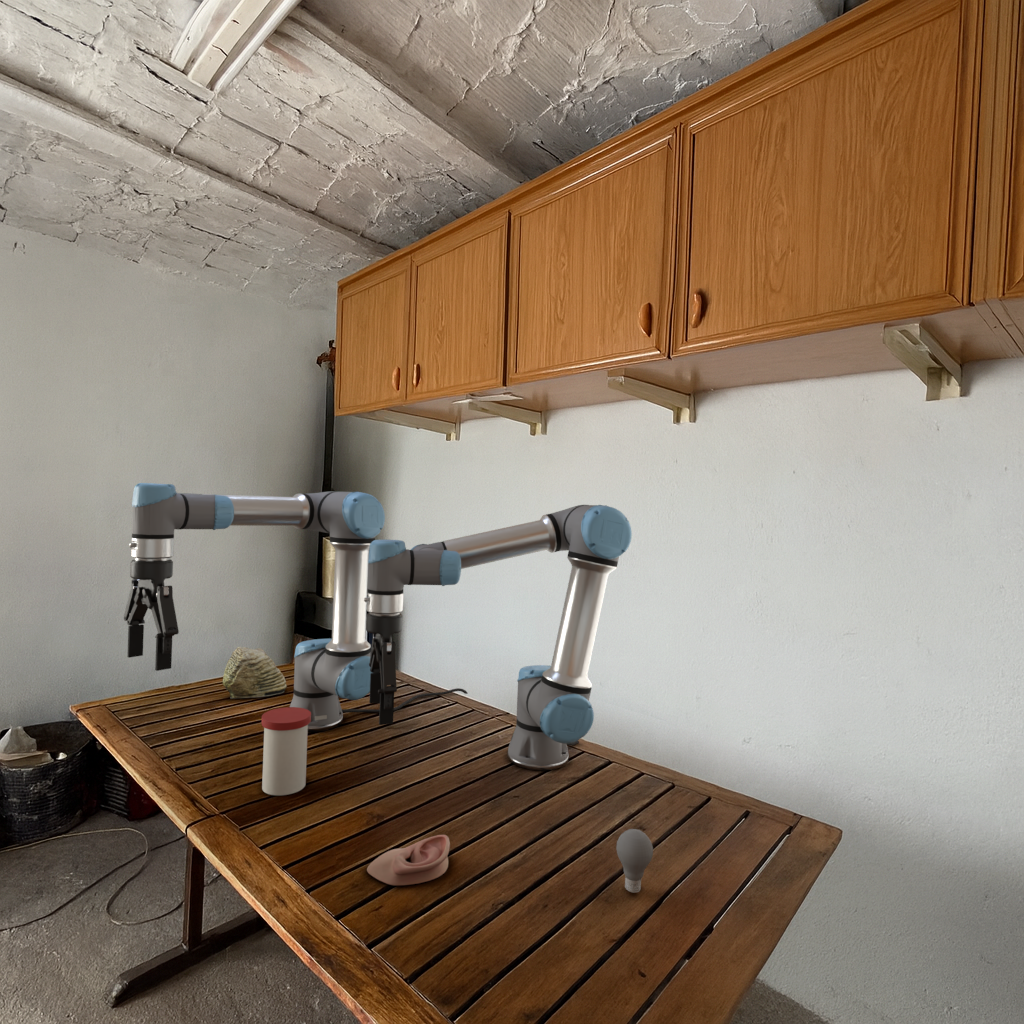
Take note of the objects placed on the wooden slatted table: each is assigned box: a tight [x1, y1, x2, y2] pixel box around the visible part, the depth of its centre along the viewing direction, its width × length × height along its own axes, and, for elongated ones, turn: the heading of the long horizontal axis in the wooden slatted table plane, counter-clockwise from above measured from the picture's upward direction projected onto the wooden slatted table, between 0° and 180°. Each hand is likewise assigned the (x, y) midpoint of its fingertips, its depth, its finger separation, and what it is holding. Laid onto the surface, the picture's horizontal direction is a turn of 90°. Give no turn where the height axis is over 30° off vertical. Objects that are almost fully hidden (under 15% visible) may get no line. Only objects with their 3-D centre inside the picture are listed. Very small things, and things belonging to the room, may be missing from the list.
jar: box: [261, 725, 309, 796], centre depth 138 cm, size 9×9×15 cm
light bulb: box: [615, 828, 654, 894], centre depth 106 cm, size 6×6×10 cm
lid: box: [261, 706, 311, 731], centre depth 138 cm, size 10×10×2 cm
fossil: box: [222, 646, 288, 699], centre depth 198 cm, size 9×18×15 cm, turn 132°
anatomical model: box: [366, 834, 451, 886], centre depth 109 cm, size 13×4×12 cm
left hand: (148, 662), depth 129 cm, fingers open, 13 cm apart
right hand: (380, 712), depth 134 cm, fingers open, 13 cm apart
